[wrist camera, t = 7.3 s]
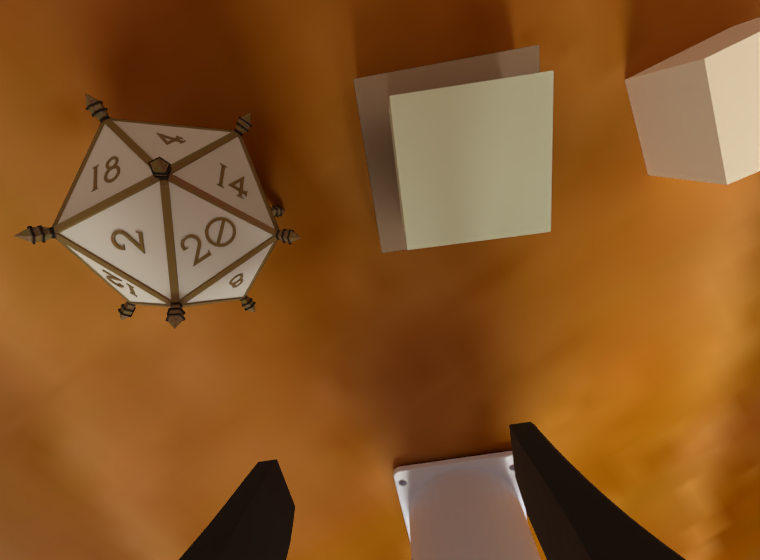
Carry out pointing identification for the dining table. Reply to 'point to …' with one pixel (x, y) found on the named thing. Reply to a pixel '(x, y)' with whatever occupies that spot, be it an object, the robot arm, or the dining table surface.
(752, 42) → the cream cube
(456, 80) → the walnut base
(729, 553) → the dining table surface
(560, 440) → the dining table surface
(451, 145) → the sage cube
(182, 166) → the game die
